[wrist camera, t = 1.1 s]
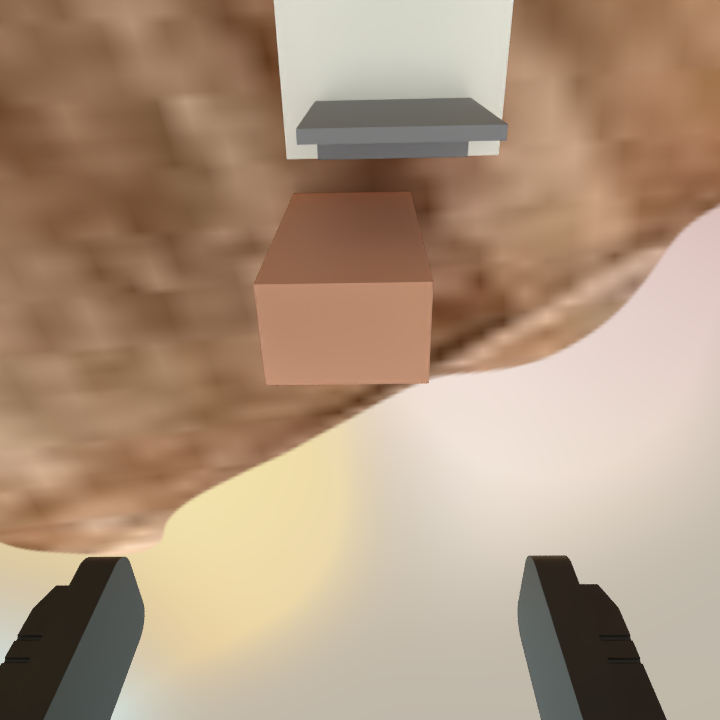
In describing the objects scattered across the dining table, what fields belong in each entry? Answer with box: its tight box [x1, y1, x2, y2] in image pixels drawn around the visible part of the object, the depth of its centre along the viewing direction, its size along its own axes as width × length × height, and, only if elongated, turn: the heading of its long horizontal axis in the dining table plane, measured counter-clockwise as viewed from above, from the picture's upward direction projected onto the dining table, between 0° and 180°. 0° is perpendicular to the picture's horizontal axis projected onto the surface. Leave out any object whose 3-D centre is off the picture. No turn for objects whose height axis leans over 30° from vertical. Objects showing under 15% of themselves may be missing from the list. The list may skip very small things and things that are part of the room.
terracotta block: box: [254, 191, 433, 385], centre depth 25 cm, size 6×4×12 cm, turn 91°
